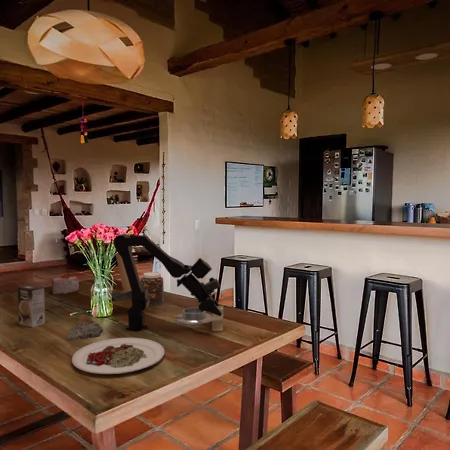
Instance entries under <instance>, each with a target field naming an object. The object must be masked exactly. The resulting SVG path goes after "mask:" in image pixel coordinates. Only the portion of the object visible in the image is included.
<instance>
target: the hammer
mask: <svg viewBox="0 0 450 450" xmlns="http://www.w3.org/2000/svg"><path fill="white" fill-rule="evenodd" d="M115 256H116V262H117V266H118V267H117V268H118V271H119V272H118V273H119V276H120V282H121V285H122V289H121V291H119V292H115V293H111V294H112V298H113V299H112V298H111V299H112V300H114V301H122V300H127V299H128V300H129V299H131V300H132V290H131V287H130V284H129V280H128V277H127V274H126V270H125V267H124V264H123V261H122V258H121V256H120V255H119V254H117V255H116V254H115Z"/></svg>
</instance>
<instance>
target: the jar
mask: <svg viewBox="0 0 450 450" xmlns="http://www.w3.org/2000/svg"><path fill="white" fill-rule="evenodd" d="M140 282H141V286H142V287H143V289H144V290H146V289H148V294H149V296H150V297H151V298H150V299H149V300H150V302H149V304H148V306H147V307H157V306H161V305H163V304H164V302H165V301H164V290H165V289H164V278H163V277H162V276H161V273H160V272H152V271H149V272H144V273H143V276H142V277H141V278H140Z"/></svg>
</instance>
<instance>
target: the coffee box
mask: <svg viewBox="0 0 450 450" xmlns="http://www.w3.org/2000/svg"><path fill="white" fill-rule="evenodd" d="M17 303H18V305H17V307H18V310H17V311H18V313H17V315H18V325H21V326H24V327H27V328H28V327H29V328H35V327H38V326H42V325H45V322H46V321H45V318H46V317H45V314H46V313H45V286H42V285H35V284H31V283H30V284H25V285H21V286H19V285H18V286H17Z"/></svg>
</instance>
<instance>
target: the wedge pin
mask: <svg viewBox="0 0 450 450" xmlns="http://www.w3.org/2000/svg"><path fill="white" fill-rule="evenodd" d="M217 308H218V309H219V311H220V312H221V313H222V315H221V316H218V315H216V314H213V313H211V314H212V315H211V316H212V321H211V325H212V326H211V330H212V331H215V332H216V331H217V332H218V331H222V332H223V331H224V305H219V306H217Z"/></svg>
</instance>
